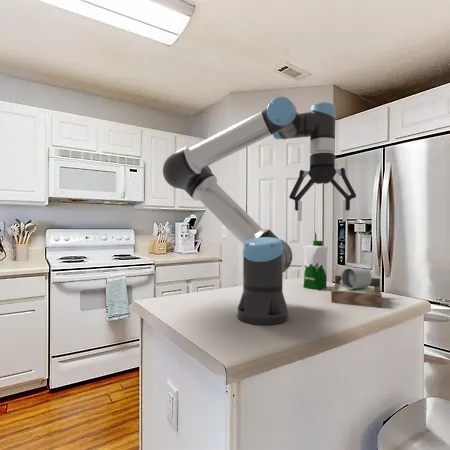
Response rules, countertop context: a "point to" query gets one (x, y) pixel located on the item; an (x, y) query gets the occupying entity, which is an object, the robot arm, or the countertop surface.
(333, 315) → the countertop surface
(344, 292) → the step
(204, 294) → the countertop surface
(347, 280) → the ceramic mug
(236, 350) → the countertop surface
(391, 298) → the countertop surface
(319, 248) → the milk carton
